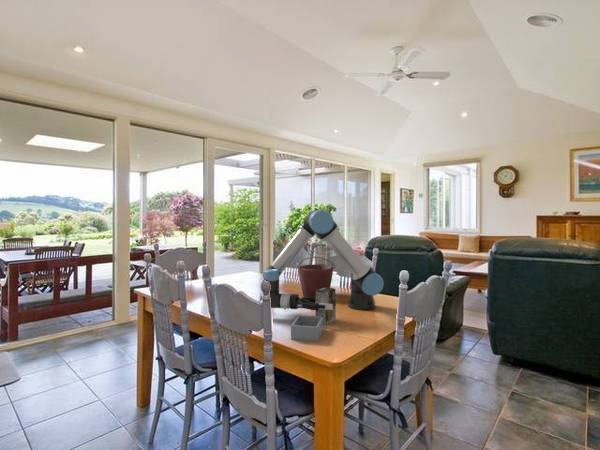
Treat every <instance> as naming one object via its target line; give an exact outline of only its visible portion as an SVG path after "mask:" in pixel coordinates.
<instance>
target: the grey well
mask: <svg viewBox="0 0 600 450" xmlns="http://www.w3.org/2000/svg"><path fill="white" fill-rule="evenodd" d="M323 331H324V324H323V317H316V316H310V315H297V317H296V318H295V319H294V320H293V322H292V323H291V324H290V340H295V341H304V342H305V341H306V342H307V341H308V342H319V340H320V338H321V336H322V334H323Z"/></svg>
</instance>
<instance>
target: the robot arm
mask: <svg viewBox="0 0 600 450" xmlns="http://www.w3.org/2000/svg"><path fill="white" fill-rule="evenodd" d="M338 228H339V225H338V224H337V223H336V222H335V220H334V217H333V216H332V214H331V213H330V212H329V211H327V210H324V209H314V210H311V211H310V212H309V213H308V214H307V215H306V217H305V218H304V220H303V221H302V222H301V223H300V225H299V229H298V230H297V231H296V233H295V234H294V235H293V237H292V238H291V239H290V241H288V242H287V244H286V245H285V246H284V248H283V249H282V250H281V252H280V253H279V254H278V255H277V257H276V258H275V259H274V260H273V262H272V263H271V264H270V265H269V267H267V268H266V269H265V270H264V272H263V275H262V277H263V281H264V280H266V281H269V282H270V284H271V290H270V297H271V308H270V309H284V310H289V309H290V310H298V309H306V310H311V311H315V312H316V311H319V309H327V310H333V304H327V303H319V304H317V303H316V302H315V296H312V297H306V296H302V297H300V295H299V294H297V293H281V292H280V276H281V275H282V273H283V272H284V271H285V269H286V268H287V267H288V266H289V264H290V263H291V262H292V261H293V260H294V258H295V257H296V256H297V254H299V252H300V251H301V250H302V249H303V247H304V246H305V245H306V243H307V242H308V241H309V240H310V239H311V238H313V237H315V236H317V237H318V239H319V240H320V241H324V242H325V243H326V244H327V245H328V246H329V248H330V249H331V250H332V251H333V252H334V254H335V255H336V256H337V257H338V259H339V260H340V261H341V262H342V263H343V265H345V267H346V269H348V271H349V272H350V275H351V276H350V277H351V278H350V279H351V280H350V281H351V285H350V286H351V287H350V289H351V291H350V295H349V299H348V300H347V301H348V302H347V303H348V304H347V306H348V308H350V309H354V310H359V311H360V310H361V311H363V310H364V311H366V310H367V311H368V310H369V311H370V310H374V309H375V308H376V302H375V299H374V296H376V295H378V294H380V292H382V290H383V289H384V285H385V283H384V280H383V277H382V276H381V275H380V274H378V273H377V272H376V271H375V270H374V269H373V267H372V266H371V265H370V264H366V263H365V262H364V260H362V259H361V257H360V256H359V255H358V254H357V252H356V251H355V249H354V248H353V247H352V246H351V245H350V244H349V242H348V241H347V240H346V238H345V237H344V236H343V235H342V233H341V232H340V231H339V229H338ZM262 293H263V292H262ZM262 293H260V295H259V302H260V301H261V300H262Z"/></svg>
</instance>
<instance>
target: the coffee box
mask: <svg viewBox="0 0 600 450" xmlns="http://www.w3.org/2000/svg"><path fill="white" fill-rule="evenodd" d="M336 295H337V293H336V288H333V287H331V286H330V287H324V288H321V289H317V290H315V302H316V303H317V304H319V303H327V304H333V310H327V309H319V311H316V310H315V317H323V326H324V325H328V324H331V323H332V322H334V321H336V320H337V319H336V318H337V315H336V314H337V311H336V307H337V306H336V302H337V301H336V300H337V299H336V298H337V297H336Z"/></svg>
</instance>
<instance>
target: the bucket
mask: <svg viewBox="0 0 600 450" xmlns="http://www.w3.org/2000/svg"><path fill="white" fill-rule="evenodd" d="M308 259H322V260H324V261H326V262H329V263H330V264H331V265H329V264H318V263H317V264H303V265H301V264H302V263H303V261H304V260H308ZM295 265H296V267H297V268H298V271H297V272H298V277H299V281H300V287H301V292H302V295H303V296H302V297H304V296H306V297H312V296H315V290H317V289H321V288H324V287H330V288H331V285H332V280H333V279H332V278H333V274H334V268H336V265H335V263H334V262H333V261H331V260H329V259H327V258H326V257H323V256H308V257H303V258H301V259H300V262H297V263H296V264H295Z"/></svg>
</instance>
